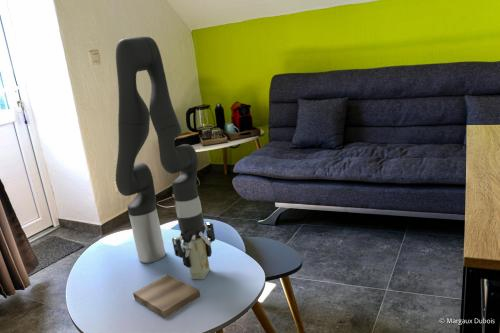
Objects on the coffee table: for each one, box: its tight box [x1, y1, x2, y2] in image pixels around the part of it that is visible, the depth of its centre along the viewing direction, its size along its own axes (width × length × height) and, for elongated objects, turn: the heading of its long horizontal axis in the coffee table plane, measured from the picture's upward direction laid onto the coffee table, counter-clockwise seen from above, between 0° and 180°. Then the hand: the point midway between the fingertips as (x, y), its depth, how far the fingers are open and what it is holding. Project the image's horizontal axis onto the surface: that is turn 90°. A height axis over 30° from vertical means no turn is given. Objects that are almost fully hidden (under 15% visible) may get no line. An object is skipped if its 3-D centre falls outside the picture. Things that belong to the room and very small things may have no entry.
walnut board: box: [132, 274, 201, 319], centre depth 123 cm, size 16×12×2 cm
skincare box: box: [185, 238, 211, 280], centre depth 132 cm, size 6×4×12 cm
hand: (198, 261), depth 132 cm, fingers closed on skincare box, 7 cm apart
